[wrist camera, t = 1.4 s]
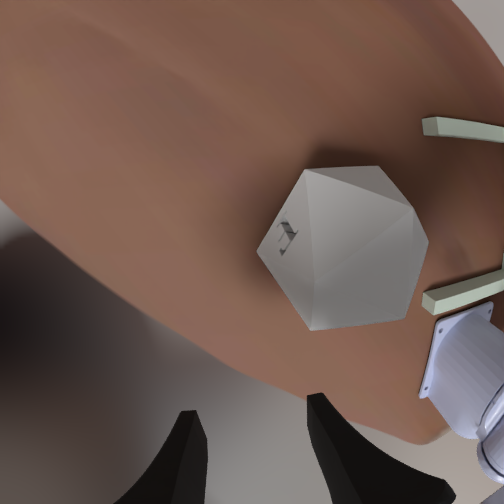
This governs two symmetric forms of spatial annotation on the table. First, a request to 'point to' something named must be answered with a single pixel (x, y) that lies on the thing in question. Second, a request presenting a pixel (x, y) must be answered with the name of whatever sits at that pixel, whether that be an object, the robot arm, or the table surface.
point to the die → (346, 248)
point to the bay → (500, 279)
